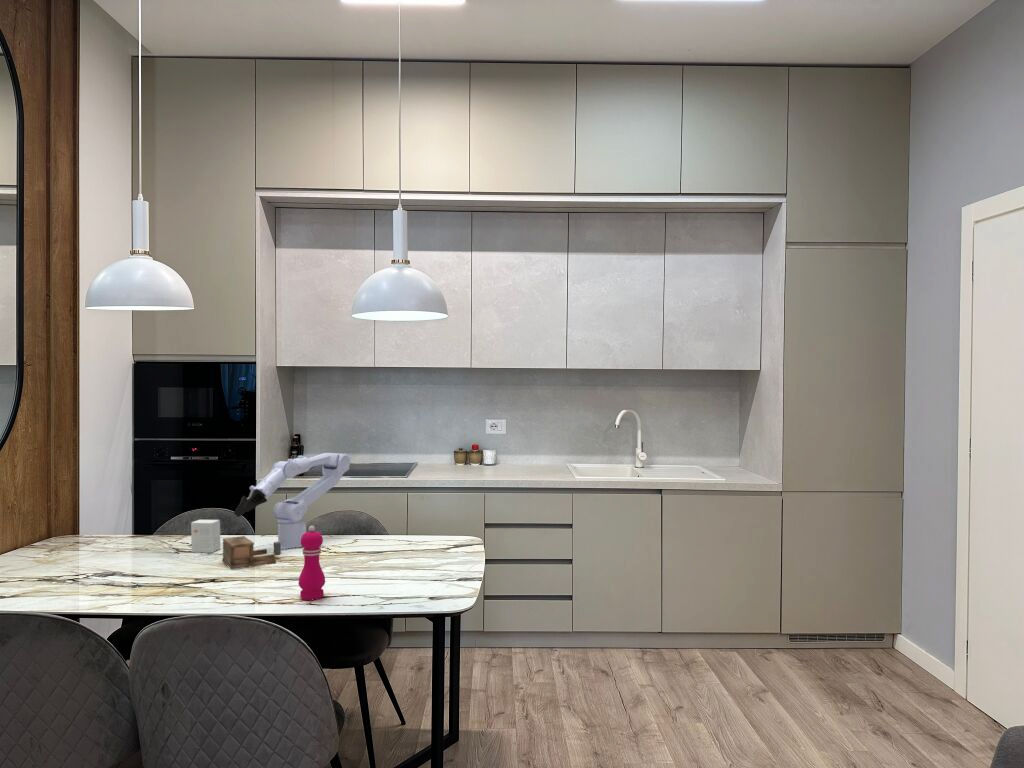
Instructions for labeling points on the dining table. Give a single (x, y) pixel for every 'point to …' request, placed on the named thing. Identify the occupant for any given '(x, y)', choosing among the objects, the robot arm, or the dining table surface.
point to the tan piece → (245, 551)
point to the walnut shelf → (245, 562)
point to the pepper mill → (311, 566)
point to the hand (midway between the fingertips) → (240, 512)
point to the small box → (205, 535)
